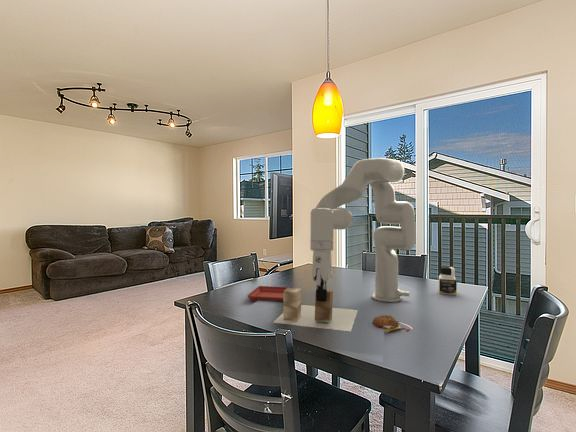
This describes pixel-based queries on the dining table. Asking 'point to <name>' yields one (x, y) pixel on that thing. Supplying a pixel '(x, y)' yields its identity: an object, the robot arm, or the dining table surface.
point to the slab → (340, 321)
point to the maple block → (292, 304)
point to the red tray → (267, 293)
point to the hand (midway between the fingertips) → (321, 300)
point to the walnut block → (324, 308)
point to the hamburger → (388, 323)
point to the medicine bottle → (447, 281)
